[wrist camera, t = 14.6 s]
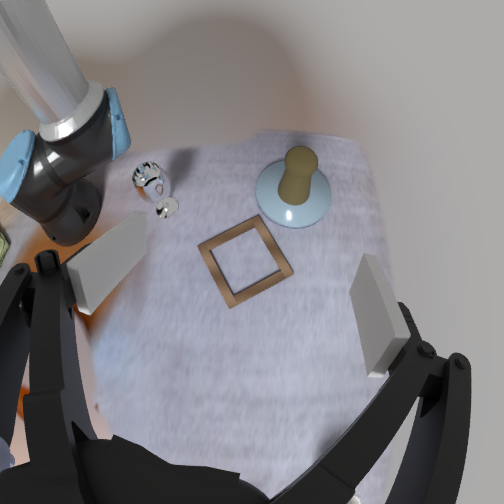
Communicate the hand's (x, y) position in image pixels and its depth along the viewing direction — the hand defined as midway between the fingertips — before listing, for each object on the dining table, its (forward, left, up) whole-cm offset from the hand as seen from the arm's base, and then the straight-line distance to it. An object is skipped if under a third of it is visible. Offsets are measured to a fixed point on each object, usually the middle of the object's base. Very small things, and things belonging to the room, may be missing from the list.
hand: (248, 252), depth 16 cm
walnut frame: (-7, +3, -30) cm, 31 cm away
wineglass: (-23, -5, -30) cm, 38 cm away
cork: (-14, +16, -29) cm, 36 cm away
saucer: (-14, +17, -30) cm, 37 cm away
